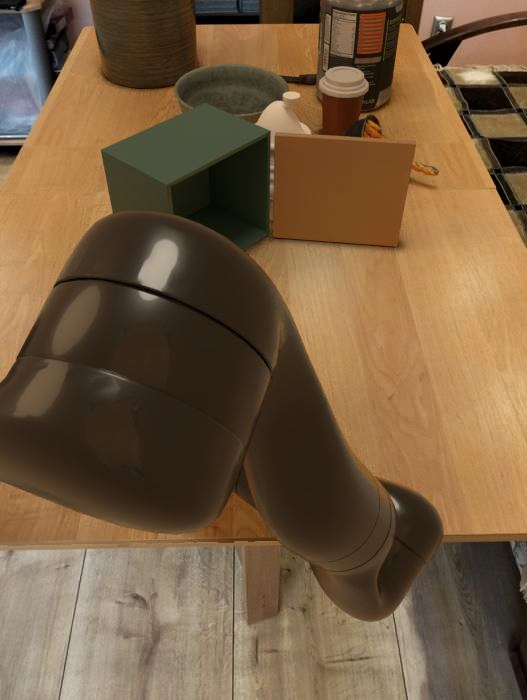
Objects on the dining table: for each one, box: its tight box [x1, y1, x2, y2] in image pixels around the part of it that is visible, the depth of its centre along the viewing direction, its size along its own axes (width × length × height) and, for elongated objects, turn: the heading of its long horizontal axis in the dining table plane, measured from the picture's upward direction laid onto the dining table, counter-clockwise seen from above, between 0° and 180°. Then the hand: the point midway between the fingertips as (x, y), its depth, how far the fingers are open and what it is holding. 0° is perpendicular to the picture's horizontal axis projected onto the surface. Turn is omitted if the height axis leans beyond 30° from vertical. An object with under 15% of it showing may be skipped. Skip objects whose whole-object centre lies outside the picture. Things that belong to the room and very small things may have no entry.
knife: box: [278, 73, 317, 85], centre depth 142 cm, size 28×2×5 cm
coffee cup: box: [319, 66, 369, 136], centre depth 119 cm, size 9×9×12 cm
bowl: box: [173, 63, 290, 124], centre depth 120 cm, size 21×21×10 cm
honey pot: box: [255, 91, 312, 221], centre depth 102 cm, size 13×13×18 cm
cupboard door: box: [272, 132, 417, 248], centre depth 95 cm, size 6×19×17 cm, turn 83°
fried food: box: [342, 113, 440, 177], centre depth 112 cm, size 9×11×18 cm
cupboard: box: [100, 103, 271, 251], centre depth 93 cm, size 13×19×17 cm
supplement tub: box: [315, 0, 404, 112], centre depth 127 cm, size 16×16×26 cm
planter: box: [88, 0, 199, 89], centre depth 139 cm, size 22×22×20 cm
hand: (108, 347), depth 65 cm, fingers closed on pill bottle, 5 cm apart
